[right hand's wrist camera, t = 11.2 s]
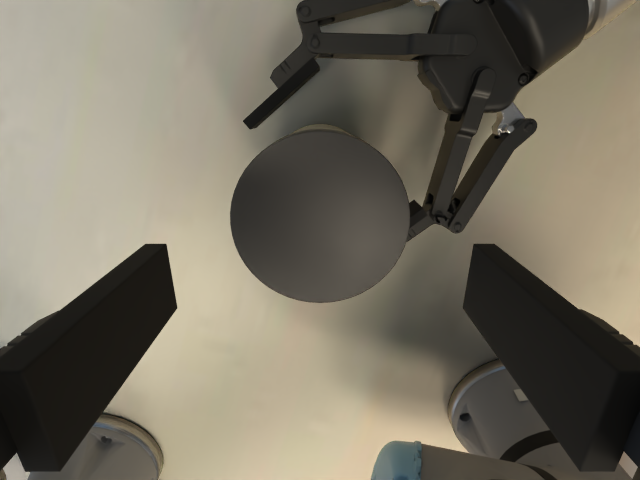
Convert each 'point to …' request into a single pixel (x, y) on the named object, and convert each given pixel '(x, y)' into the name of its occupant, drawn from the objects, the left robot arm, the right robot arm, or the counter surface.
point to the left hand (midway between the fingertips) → (306, 193)
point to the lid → (320, 216)
